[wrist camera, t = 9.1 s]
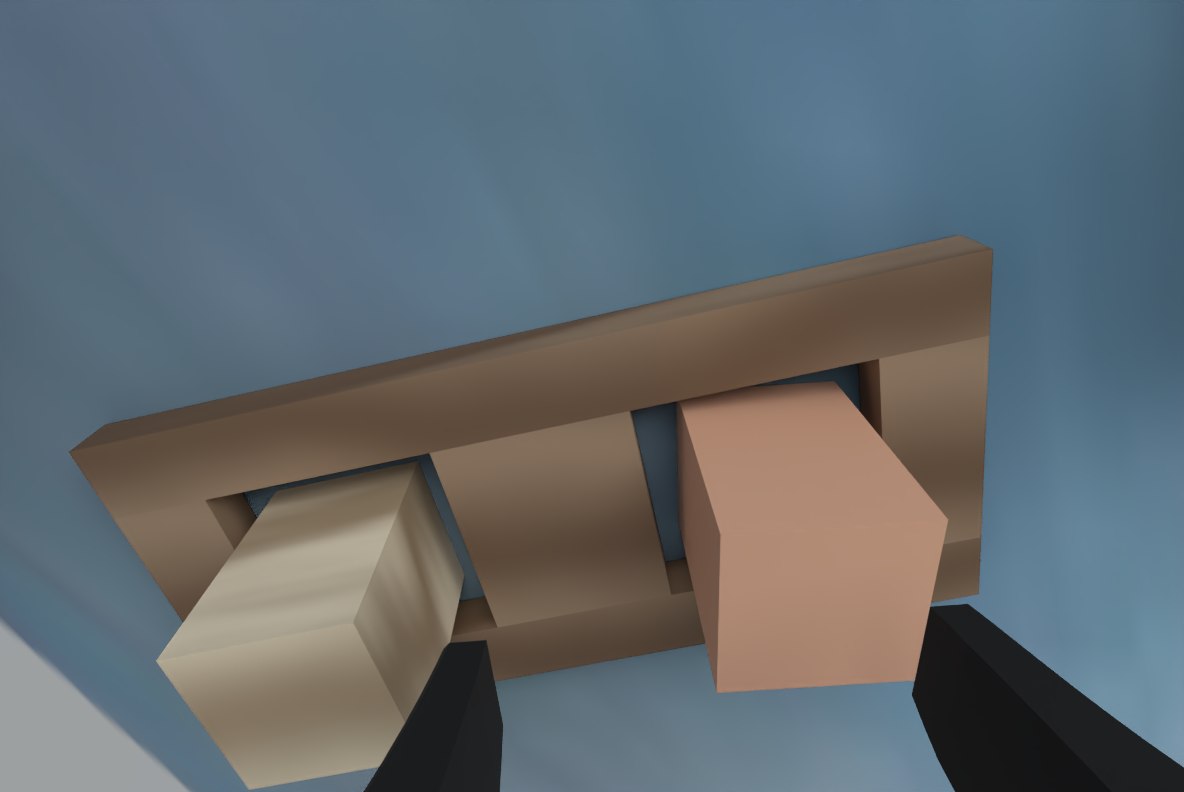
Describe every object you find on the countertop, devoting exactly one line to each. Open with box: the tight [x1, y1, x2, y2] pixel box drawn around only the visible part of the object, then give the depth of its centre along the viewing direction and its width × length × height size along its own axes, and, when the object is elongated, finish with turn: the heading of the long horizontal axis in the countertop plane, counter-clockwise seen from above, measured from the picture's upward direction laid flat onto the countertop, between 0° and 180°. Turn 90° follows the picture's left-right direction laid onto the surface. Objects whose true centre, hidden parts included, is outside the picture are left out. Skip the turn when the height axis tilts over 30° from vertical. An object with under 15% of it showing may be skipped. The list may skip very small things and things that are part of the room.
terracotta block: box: [677, 381, 948, 693], centre depth 17 cm, size 4×4×6 cm
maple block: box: [156, 461, 465, 790], centre depth 18 cm, size 4×4×6 cm
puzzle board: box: [69, 235, 993, 681], centre depth 20 cm, size 11×24×2 cm, turn 103°
